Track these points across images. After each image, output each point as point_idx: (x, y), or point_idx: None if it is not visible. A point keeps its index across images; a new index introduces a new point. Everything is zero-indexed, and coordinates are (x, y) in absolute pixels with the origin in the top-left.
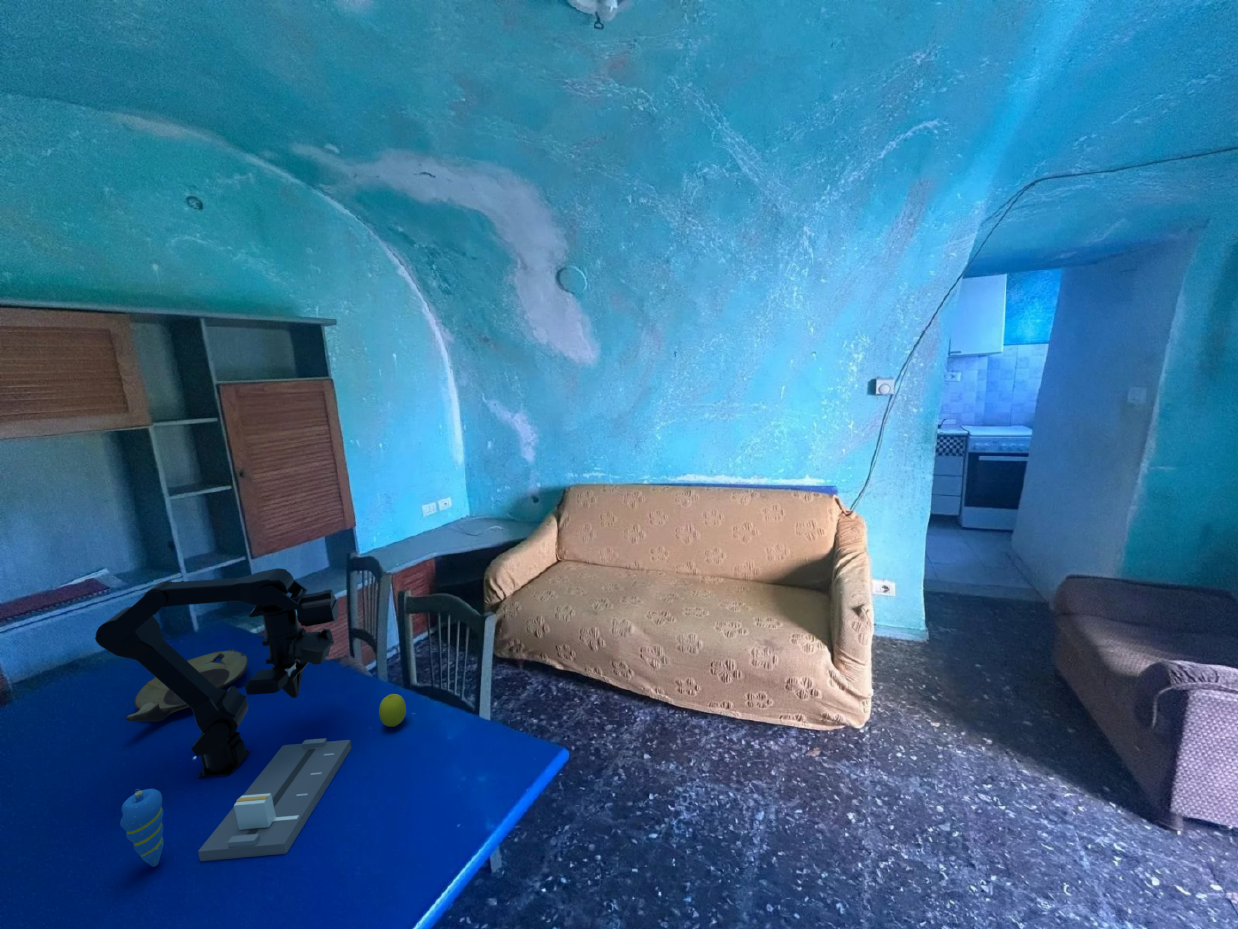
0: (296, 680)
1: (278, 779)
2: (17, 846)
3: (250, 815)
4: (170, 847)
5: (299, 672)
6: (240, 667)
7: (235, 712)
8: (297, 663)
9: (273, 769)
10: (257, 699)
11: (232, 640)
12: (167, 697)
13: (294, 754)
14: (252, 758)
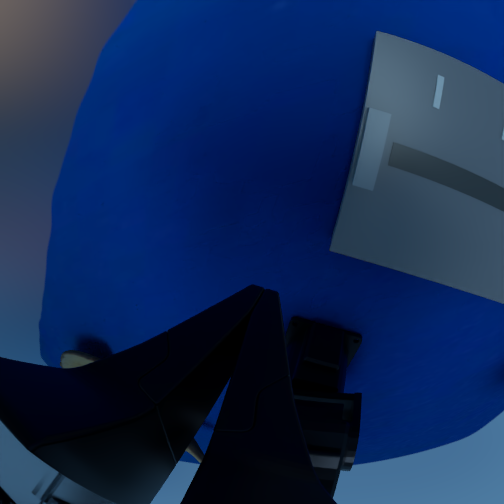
0: (240, 397)
1: (482, 229)
2: (362, 462)
3: None
4: (493, 359)
5: (146, 417)
6: (80, 357)
7: (325, 460)
8: (69, 486)
9: (434, 252)
10: (127, 323)
11: (49, 349)
12: None
13: (393, 206)
14: (318, 307)
